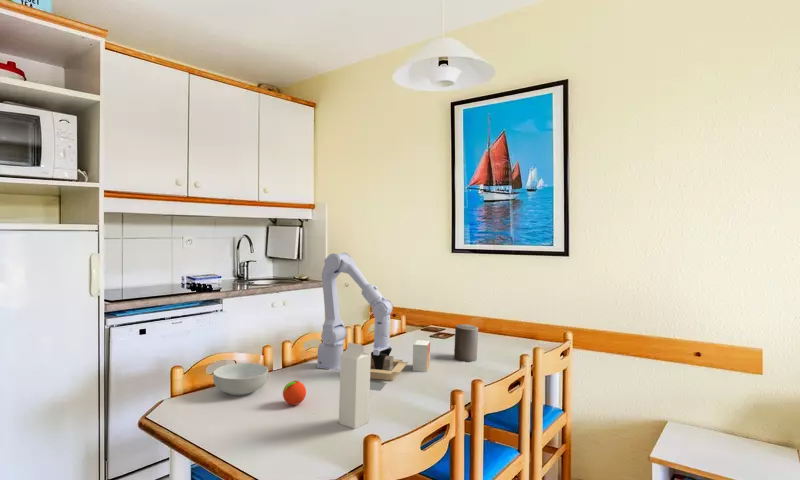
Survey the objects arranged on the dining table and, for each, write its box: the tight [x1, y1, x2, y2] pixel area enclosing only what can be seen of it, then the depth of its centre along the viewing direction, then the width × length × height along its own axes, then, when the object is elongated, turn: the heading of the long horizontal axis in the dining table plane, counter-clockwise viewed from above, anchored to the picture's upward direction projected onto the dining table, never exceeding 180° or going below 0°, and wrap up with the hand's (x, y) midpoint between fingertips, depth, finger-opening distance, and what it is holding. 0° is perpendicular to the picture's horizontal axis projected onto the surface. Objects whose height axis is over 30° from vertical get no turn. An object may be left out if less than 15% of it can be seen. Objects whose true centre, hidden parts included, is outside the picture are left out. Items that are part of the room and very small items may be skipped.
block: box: [370, 355, 395, 371], centre depth 174 cm, size 8×5×6 cm, turn 76°
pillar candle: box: [453, 323, 479, 363], centre depth 199 cm, size 10×10×15 cm
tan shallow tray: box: [370, 358, 408, 381], centre depth 174 cm, size 17×18×4 cm
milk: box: [338, 342, 371, 430], centre depth 130 cm, size 6×6×22 cm
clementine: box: [282, 380, 307, 406], centre depth 142 cm, size 8×7×7 cm
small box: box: [412, 339, 431, 373], centre depth 182 cm, size 8×6×10 cm
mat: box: [370, 380, 387, 392], centre depth 161 cm, size 12×8×1 cm, turn 76°
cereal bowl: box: [212, 362, 269, 397], centre depth 152 cm, size 17×17×7 cm
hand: (381, 369), depth 174 cm, fingers closed on block, 5 cm apart
